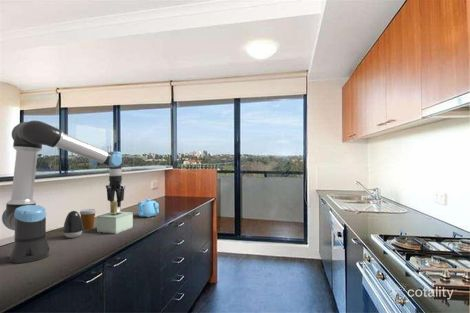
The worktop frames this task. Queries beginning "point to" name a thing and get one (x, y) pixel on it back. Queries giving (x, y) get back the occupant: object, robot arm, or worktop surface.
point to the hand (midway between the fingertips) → (115, 211)
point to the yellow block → (113, 207)
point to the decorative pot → (147, 208)
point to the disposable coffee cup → (87, 218)
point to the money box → (114, 222)
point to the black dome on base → (73, 225)
